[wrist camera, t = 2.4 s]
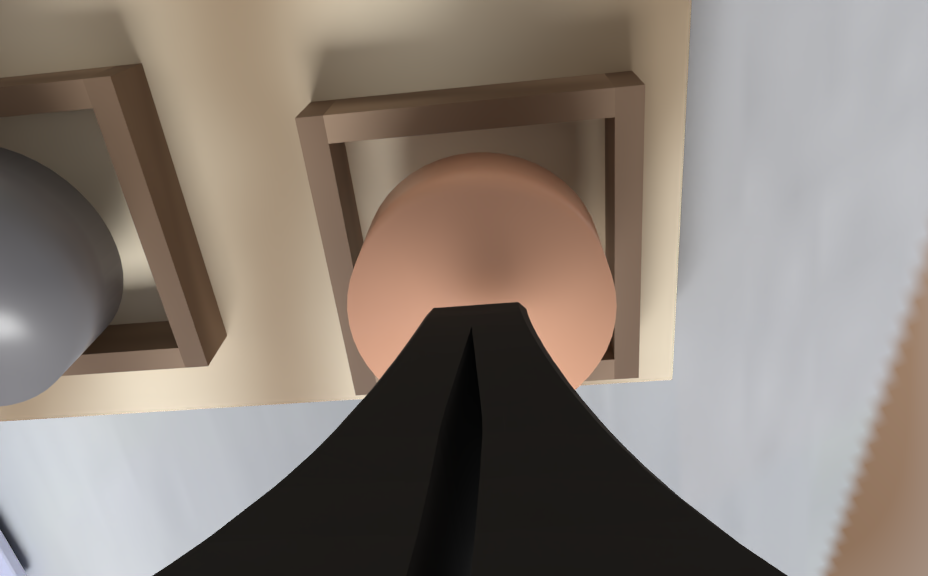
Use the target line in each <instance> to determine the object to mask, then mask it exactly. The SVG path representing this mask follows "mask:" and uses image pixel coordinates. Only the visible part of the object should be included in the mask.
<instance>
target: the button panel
mask: <svg viewBox="0 0 928 576" xmlns="http://www.w3.org/2000/svg"><path fill="white" fill-rule="evenodd" d="M690 19H691V0H0V147H1V148H5V149H8V150H11V151H14V152H17V153H20V154H22V155H24V156H26V157H29V158H31V159H33V160H35V161H37V162H39V163H41V164H42V165H44V166H46V167H47V168H49V169H51V170H53V171H54V172H55V173H57V174H58V175H59V176H61V177H62V178H64V179H65V180H66V181H68V182H69V183H70V184H71V185H72V186H73V187H74V188H76V189H77V190H78V191H79V192H80V193H81V194H82V195H83V196H84V197H85V198H86V199H87V200H88V201H89V203H90V204H91V205H92V206H93V207H94V208H95V210H96V211H97V212H98V214H99V215H100V216H101V218H102V219H103V221H104V222H105V224H106V226H107V228H108V229H109V231H110V233H111V235H112V237H113V239H114V241H115V244H116V246H117V249H118V252H119V255H120V259H121V263H122V269H123V293H122V299H121V302H120V305H119V309H118V311H117V313H116V315H115V317H114V318H113V320H112V321H111V323H110V324H109V325H108V326H107V328H106V329H105V330H104V331H103V332H102V333H101V334H100V335H99V336H98V337H97V338H96V340H95V341H94V342H93V343H92V344H91V345H90V346H89V347H88V348H87V349H86V350H85V351H84V352H83V353H82V354H81V356H80V357H79V358H78V359H77V360H76V361H75V362H74V363H73V364H72V365H71V366H70V367H69V368H68V369H67V370H66V371H65V373H64V374H63V375H62V376H61V377H60V378H59V379H58V380H57V381H56V382H55V383H54V384H53V385H52V386H51V387H49V388H48V389H47V390H46V391H44V392H43V393H41V394H39V395H38V396H36V397H34V398H31V399H29V400H27V401H24V402H21V403H17V404H13V405H8V406H0V421H14V420H30V419H47V418H63V417H79V416H95V415H111V414H127V413H143V412H160V411H176V410H192V409H208V408H224V407H240V406H256V405H273V404H289V403H305V402H321V401H337V400H353V399H364V398H365V396H366V395H367V394H368V393H369V392H370V391H371V389H372V388H373V387H374V386H375V384H376V383H377V382H378V381H379V379H378V378H377V377H376V376H375V375H374V373H373V372H372V371H371V370H370V369H369V367H368V366H367V364H366V363H365V361H364V360H363V358H362V356H361V355H360V353H359V351H358V349H357V347H356V344H355V342H354V340H353V337H352V333H351V330H350V326H349V320H348V313H347V294H348V288H349V282H350V278H351V275H352V272H353V269H354V266H355V263H356V261H357V258H358V256H359V253H360V251H361V248H362V245H363V243H364V240H365V238H366V235H367V233H368V230H369V228H370V225H371V222H372V220H373V218H374V216H375V214H376V212H377V210H378V208H379V207H380V205H381V204H382V202H383V201H384V199H385V198H386V197H387V195H388V194H389V193H390V192H391V191H392V190H393V189H394V188H395V187H396V186H397V185H398V184H399V183H400V182H401V181H402V180H404V179H405V178H406V177H407V176H409V175H410V174H412V173H413V172H415V171H417V170H418V169H420V168H421V167H423V166H425V165H428V164H430V163H432V162H434V161H437V160H439V159H443V158H446V157H450V156H453V155H459V154H465V153H477V152H490V153H500V154H506V155H511V156H515V157H519V158H522V159H525V160H528V161H530V162H533V163H536V164H537V165H539V166H541V167H543V168H545V169H547V170H549V171H550V172H552V173H553V174H555V175H556V176H557V177H559V178H560V179H561V180H563V181H564V182H565V183H566V184H567V185H568V186H569V187H570V188H571V189H572V190H573V191H574V192H575V193H576V194H577V196H578V197H579V198H580V199H581V201H582V202H583V203H584V205H585V207H586V208H587V210H588V212H589V213H590V215H591V217H592V220H593V222H594V225H595V227H596V230H597V233H598V236H599V239H600V242H601V245H602V248H603V250H604V253H605V256H606V259H607V262H608V265H609V268H610V271H611V274H612V278H613V282H614V286H615V291H616V303H617V309H616V321H615V326H614V330H613V334H612V338H611V340H610V343H609V345H608V348H607V350H606V352H605V354H604V356H603V357H602V359H601V361H600V363H599V364H598V366H597V367H596V368H595V369H594V371H593V372H592V373H591V375H590V376H589V377H588V378H587V379H586V380H585V381H584V382H583V383H582V384H581V385H596V384H612V383H628V382H644V381H660V380H672V374H673V354H674V334H675V315H676V295H677V275H678V255H679V236H680V216H681V196H682V177H683V157H684V137H685V117H686V98H687V78H688V58H689V39H690Z"/></svg>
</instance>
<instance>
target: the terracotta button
mask: <svg viewBox="0 0 928 576" xmlns="http://www.w3.org/2000/svg"><path fill="white" fill-rule="evenodd" d="M510 302H519V303H520V304H521V305H523V306H524V307H525V308H526V309H527V313H528V316H529V318H530V321H531V323H532V325H533V327H534V329H535V331H536V333H537V335H538V337H539V338H540V340H541V342H542V343H543V345H544V347H545V348H546V350H547V352H548V353H549V355H550V356H551V358H552V359H553V361H554V362H555V364H556V365H557V366H558V368H559V369H560V371H561V372H562V373H563V375H564V376H565V378H566V379H567V380H568V382H569V383H570V385H571V386H572V387H573V388H574V390H575V389H577V388H578V387H579V386H580V385H581V384H582V383H583V382H584V381H585V380H586V379H587V378H588V377H589V376H590V375H591V373H592V372H593V371H594V369H595V368H596V367H597V366H598V364H599V363H600V361H601V359H602V357H603V356H604V354H605V352H606V350H607V348H608V345H609V343H610V340H611V338H612V334H613V330H614V326H615V321H616V309H617V303H616V291H615V286H614V282H613V278H612V274H611V271H610V268H609V265H608V262H607V259H606V256H605V253H604V250H603V248H602V245H601V242H600V239H599V236H598V233H597V230H596V227H595V225H594V222H593V220H592V217H591V215H590V213H589V212H588V210H587V208H586V207H585V205H584V203H583V202H582V201H581V199H580V198H579V197H578V196H577V194H576V193H575V192H574V191H573V190H572V189H571V188H570V187H569V186H568V185H567V184H566V183H565V182H564V181H563V180H561V179H560V178H559V177H557V176H556V175H555V174H553V173H552V172H550V171H549V170H547V169H545V168H543V167H541V166H539V165H537V164H536V163H533V162H530V161H528V160H525V159H522V158H519V157H515V156H511V155H506V154H500V153H490V152H477V153H465V154H459V155H453V156H450V157H446V158H443V159H439V160H437V161H434V162H432V163H430V164H428V165H425V166H423V167H421V168H420V169H418V170H417V171H415V172H413V173H412V174H410V175H409V176H407V177H406V178H405V179H404V180H402V181H401V182H400V183H399V184H398V185H397V186H396V187H395V188H394V189H393V190H392V191H391V192H390V193H389V194H388V195H387V197H386V198H385V199H384V201H383V202H382V204H381V205H380V207H379V208H378V210H377V212H376V214H375V216H374V218H373V220H372V222H371V225H370V228H369V230H368V233H367V235H366V238H365V240H364V243H363V245H362V248H361V251H360V253H359V256H358V258H357V261H356V263H355V266H354V269H353V272H352V275H351V278H350V282H349V288H348V294H347V313H348V320H349V326H350V330H351V333H352V337H353V340H354V342H355V344H356V347H357V349H358V351H359V353H360V355H361V356H362V358H363V360H364V361H365V363H366V364H367V366H368V367H369V369H370V370H371V371H372V372H373V373H374V375H375V376H376V377H377V378H378V379H380V378H381V377H382V376H383V374H384V373H385V372H386V370H387V369H388V368H389V367H390V365H391V364H392V363H393V362H394V360H395V359H396V358H397V356H398V355H399V354H400V352H401V351H402V350H403V348H404V347H405V345H406V344H407V343H408V341H409V340H410V339H411V337H412V336H413V334H414V333H415V331H416V330H417V329H418V327H419V326H420V324H421V323H422V321H423V320H424V318H425V317H426V316H427V314H428V313H429V312H430V311H431V310H432V309H433V308H440V307H454V306H468V305H482V304H496V303H510Z"/></svg>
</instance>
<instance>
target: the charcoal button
mask: <svg viewBox="0 0 928 576" xmlns="http://www.w3.org/2000/svg"><path fill="white" fill-rule="evenodd" d="M122 293H123V269H122V263H121V259H120V255H119V252H118V249H117V246H116V244H115V241H114V239H113V237H112V235H111V233H110V231H109V229H108V228H107V226H106V224H105V222H104V221H103V219H102V218H101V216H100V215H99V214H98V212H97V211H96V210H95V208H94V207H93V206H92V205H91V204H90V203H89V201H88V200H87V199H86V198H85V197H84V196H83V195H82V194H81V193H80V192H79V191H78V190H77V189H76V188H74V187H73V186H72V185H71V184H70V183H69V182H68V181H66V180H65V179H64V178H62V177H61V176H59V175H58V174H57V173H55V172H54V171H53V170H51V169H49V168H47V167H46V166H44V165H42V164H41V163H39V162H37V161H35V160H33V159H31V158H29V157H26V156H24V155H22V154H20V153H17V152H14V151H11V150H8V149H5V148H1V147H0V406H8V405H13V404H17V403H21V402H24V401H27V400H29V399H31V398H34V397H36V396H38V395H39V394H41V393H43V392H44V391H46V390H47V389H48V388H49V387H51V386H52V385H53V384H54V383H55V382H56V381H57V380H58V379H59V378H60V377H61V376H62V375H63V374H64V373H65V371H66V370H67V369H68V368H69V367H70V366H71V365H72V364H73V363H74V362H75V361H76V360H77V359H78V358H79V357H80V356H81V354H82V353H83V352H84V351H85V350H86V349H87V348H88V347H89V346H90V345H91V344H92V343H93V342H94V341H95V340H96V338H97V337H98V336H99V335H100V334H101V333H102V332H103V331H104V330H105V329H106V328H107V326H108V325H109V324H110V323H111V321H112V320H113V318H114V317H115V315H116V313H117V311H118V309H119V305H120V302H121V299H122Z"/></svg>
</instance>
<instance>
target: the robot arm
mask: <svg viewBox="0 0 928 576" xmlns="http://www.w3.org/2000/svg"><path fill="white" fill-rule="evenodd" d="M0 576H27V575H26V572H25V571H24V569H23V567H22V565H21V564H20V562H19V560H18V559H17V557H16V555H15V554H14V552H13V550H12V549H11V547H10V545H9V543H8V542H7V540H6V538H5V537H4V535H3V533H2V532H1V530H0ZM153 576H787V575H785V574H784V573H783V572H781V571H780V570H778V569H777V568H775V567H774V566H772V565H771V564H769V563H768V562H766V561H765V560H763V559H762V558H760V557H759V556H757V555H756V554H754V553H753V552H751V551H750V550H748V549H747V548H745V547H744V546H742V545H741V544H740V543H738V542H737V541H736V540H734V539H733V538H732V537H730V536H729V535H728V534H727V533H725V532H724V531H723V530H721V529H720V528H719V527H717V526H716V525H715V524H714V523H712V522H711V521H710V520H708V519H707V518H706V517H704V516H703V515H702V514H701V513H699V512H698V511H697V510H695V509H694V508H693V507H692V506H690V505H689V504H688V503H686V502H685V501H684V500H682V499H681V498H680V497H679V496H678V495H676V494H675V493H674V492H673V491H672V490H671V489H670V488H668V487H667V486H666V485H665V484H664V483H663V482H662V481H661V480H659V479H658V478H657V477H656V476H655V475H654V474H653V473H652V472H651V471H649V470H648V469H647V468H646V467H645V466H644V465H643V464H642V463H641V462H640V461H639V460H638V459H637V458H636V457H635V456H634V455H633V454H632V453H631V452H630V451H629V450H627V449H626V448H625V447H624V446H623V445H622V444H621V443H620V441H619V440H618V439H617V438H616V437H615V436H614V435H613V434H612V433H611V432H610V431H609V430H608V429H607V428H606V427H605V425H604V424H603V423H602V422H601V421H600V420H599V419H598V418H597V416H596V415H595V414H594V413H593V412H592V410H591V409H590V408H589V407H588V406H587V405H586V403H585V402H584V401H583V400H582V399H581V397H580V396H579V395H578V393H577V392H576V391H575V390H574V388H573V387H572V386H571V385H570V383H569V382H568V380H567V379H566V378H565V376H564V375H563V373H562V372H561V371H560V369H559V368H558V366H557V365H556V364H555V362H554V361H553V359H552V358H551V356H550V355H549V353H548V352H547V350H546V348H545V347H544V345H543V343H542V342H541V340H540V338H539V337H538V335H537V333H536V331H535V329H534V327H533V325H532V323H531V321H530V318H529V316H528V313H527V309H526V308H525V307H524V306H523V305H521V304H520V303H519V302H510V303H496V304H482V305H468V306H454V307H440V308H433V309H432V310H431V311H430V312H429V313H428V314H427V316H426V317H425V318H424V320H423V321H422V323H421V324H420V326H419V327H418V329H417V330H416V331H415V333H414V334H413V336H412V337H411V339H410V340H409V341H408V343H407V344H406V345H405V347H404V348H403V350H402V351H401V352H400V354H399V355H398V356H397V358H396V359H395V360H394V362H393V363H392V364H391V365H390V367H389V368H388V369H387V370H386V372H385V373H384V374H383V376H382V377H381V378H380V379H379V381H378V382H377V383H376V384H375V386H374V387H373V388H372V389H371V391H370V392H369V393H368V394H367V395H366V396H365V398H364V399H363V400H362V401H361V402H360V403H359V404H358V405H357V407H356V408H355V409H354V410H353V411H352V412H351V413H350V414H349V415H348V417H347V418H346V419H345V420H344V421H343V422H342V423H341V424H340V425H339V427H338V428H337V429H336V430H335V431H334V432H333V433H332V434H331V435H330V436H329V437H328V438H327V439H326V440H325V441H324V442H323V443H322V444H321V445H320V446H319V447H318V448H317V449H316V450H315V451H314V452H313V453H312V454H311V455H310V456H309V457H308V458H307V459H305V460H304V461H303V462H302V463H301V464H300V465H299V466H298V467H297V468H295V469H294V470H293V471H292V472H291V473H290V474H289V475H288V476H287V477H285V478H284V479H283V480H282V481H281V482H279V483H278V484H277V485H276V486H275V487H274V488H272V489H271V490H270V491H268V492H267V493H266V494H265V495H263V496H262V497H261V498H259V499H258V500H257V501H256V502H254V503H253V504H252V505H250V506H249V507H248V508H247V509H245V510H244V511H243V512H241V513H240V514H239V515H237V516H236V517H235V518H234V519H232V520H231V521H230V522H228V523H227V524H226V525H225V526H223V527H222V528H221V529H219V530H218V531H217V532H216V533H214V534H213V535H212V536H210V537H209V538H207V539H206V540H205V541H203V542H202V543H200V544H199V545H197V546H196V547H195V548H193V549H192V550H190V551H189V552H187V553H186V554H184V555H183V556H181V557H180V558H178V559H177V560H176V561H174V562H173V563H171V564H170V565H168V566H167V567H165V568H164V569H162V570H161V571H159V572H158V573H156V574H154V575H153Z"/></svg>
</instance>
